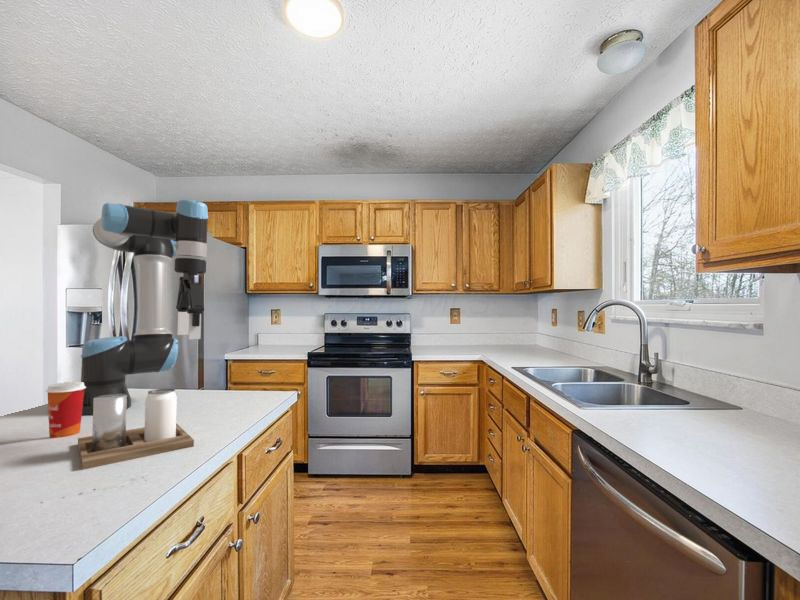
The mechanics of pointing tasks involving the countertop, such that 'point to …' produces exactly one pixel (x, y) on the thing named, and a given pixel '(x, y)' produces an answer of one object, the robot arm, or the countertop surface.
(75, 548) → the countertop surface
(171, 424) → the can
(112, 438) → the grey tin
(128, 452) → the tray
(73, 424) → the paper cup
